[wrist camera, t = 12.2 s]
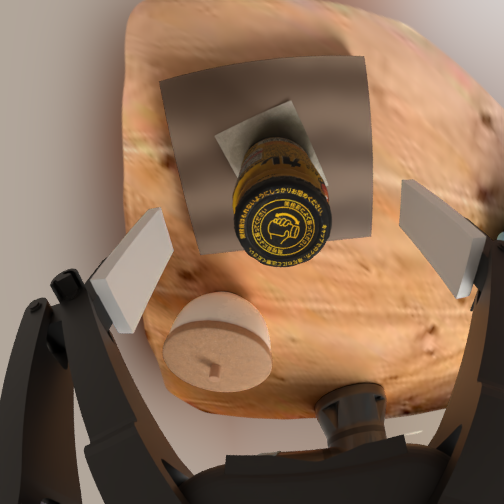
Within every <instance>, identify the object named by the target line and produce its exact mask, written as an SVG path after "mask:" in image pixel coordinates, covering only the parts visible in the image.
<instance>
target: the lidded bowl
mask: <svg viewBox="0 0 504 504" xmlns="http://www.w3.org/2000/svg"><path fill="white" fill-rule="evenodd" d="M163 358H164V361H165V363H166V364H167V366H168V368H169V369H170V370H171V371H172V372H173V373H174V374H175V375H176V376H177V377H179V378H180V379H182V380H183V381H185V382H187V383H189V384H191V385H193V386H196V387H199V388H202V389H206V390H210V391H216V392H238V391H243V390H247V389H250V388H253V387H255V386H257V385H259V384H260V383H262V382H263V381H264V380H265V379H266V378H267V377H268V376H269V374H270V372H271V370H272V355H271V343H270V337H269V331H268V328H267V325H266V322H265V320H264V318H263V317H262V315H261V313H260V312H259V311H258V310H257V309H256V307H255V306H254V305H253V304H251V303H250V302H249V301H247V300H245V299H244V298H242V297H240V296H239V295H236V294H234V293H231V292H223V291H220V292H213V293H208V294H204V295H201V296H199V297H197V298H195V299H193V300H192V301H190V302H189V303H188V304H187V305H186V306H184V308H183V309H182V310H181V311H180V313H179V314H178V315H177V317H176V319H175V321H174V323H173V325H172V327H171V329H170V332H169V335H168V336H167V338H166V340H165V343H164V346H163Z"/></svg>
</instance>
